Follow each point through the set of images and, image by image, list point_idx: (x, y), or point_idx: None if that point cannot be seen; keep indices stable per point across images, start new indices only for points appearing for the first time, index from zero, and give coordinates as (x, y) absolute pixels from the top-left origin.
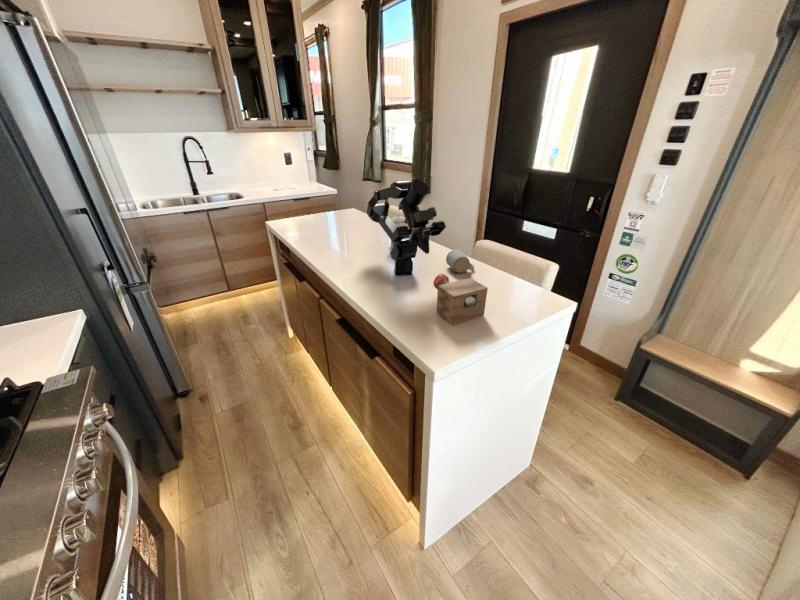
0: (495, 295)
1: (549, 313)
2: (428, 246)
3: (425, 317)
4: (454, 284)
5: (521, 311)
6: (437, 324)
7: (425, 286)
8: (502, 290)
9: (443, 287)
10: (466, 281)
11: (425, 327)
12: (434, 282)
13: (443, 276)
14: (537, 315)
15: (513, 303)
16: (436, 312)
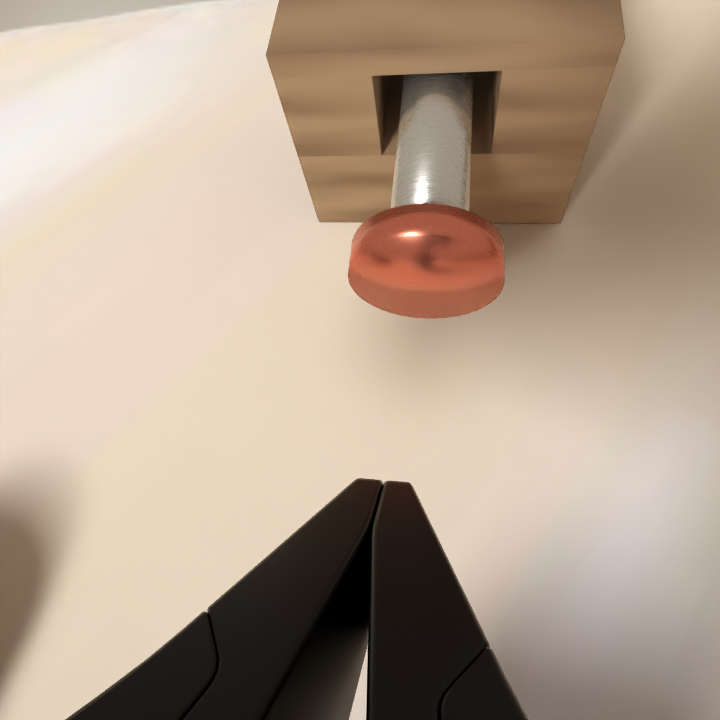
0: (94, 231)
1: (83, 27)
2: (309, 537)
3: (652, 215)
4: (474, 11)
5: (155, 74)
6: (621, 135)
7: None
8: (5, 257)
9: (598, 1)
10: (346, 20)
11: (705, 138)
12: (503, 265)
13: (415, 213)
14: (136, 33)
15: (110, 134)
16: (561, 217)
